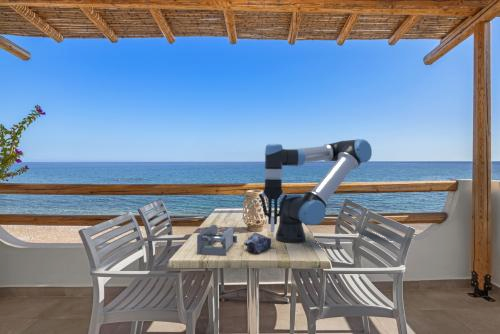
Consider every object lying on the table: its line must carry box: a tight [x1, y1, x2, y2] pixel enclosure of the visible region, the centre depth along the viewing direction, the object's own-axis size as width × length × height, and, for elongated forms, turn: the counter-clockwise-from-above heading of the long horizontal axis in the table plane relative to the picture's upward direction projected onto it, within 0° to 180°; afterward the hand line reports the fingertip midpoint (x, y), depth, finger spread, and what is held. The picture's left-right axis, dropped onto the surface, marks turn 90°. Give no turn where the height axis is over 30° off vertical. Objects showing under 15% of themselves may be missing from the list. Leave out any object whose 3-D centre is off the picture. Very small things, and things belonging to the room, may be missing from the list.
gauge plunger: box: [208, 226, 235, 252], centre depth 135 cm, size 12×21×8 cm, turn 170°
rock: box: [243, 232, 272, 255], centre depth 131 cm, size 14×10×10 cm
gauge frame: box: [196, 224, 238, 257], centre depth 135 cm, size 12×23×8 cm, turn 170°
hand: (272, 231), depth 131 cm, fingers closed
